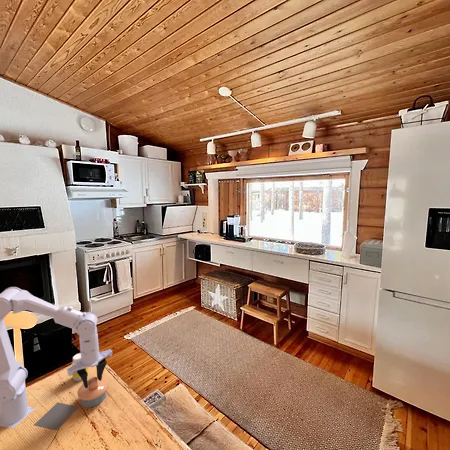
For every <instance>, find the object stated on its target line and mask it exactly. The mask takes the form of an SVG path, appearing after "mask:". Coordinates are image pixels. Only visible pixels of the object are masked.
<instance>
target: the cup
mask: <svg viewBox="0 0 450 450" xmlns="http://www.w3.org/2000/svg"><path fill="white" fill-rule="evenodd" d="M106 398H107V391H106V392H105V393H104V394H102V395H101V396H100V397H98V398H96V399H93V400H89V401H83V400H80V401H81V404H82V406H83V407H84V408H92V407H97V406H98V405H100V404H101V403H102V402H104V400H106Z"/></svg>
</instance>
